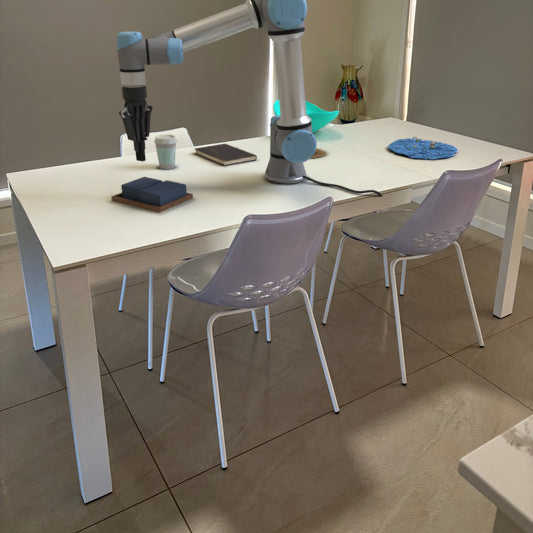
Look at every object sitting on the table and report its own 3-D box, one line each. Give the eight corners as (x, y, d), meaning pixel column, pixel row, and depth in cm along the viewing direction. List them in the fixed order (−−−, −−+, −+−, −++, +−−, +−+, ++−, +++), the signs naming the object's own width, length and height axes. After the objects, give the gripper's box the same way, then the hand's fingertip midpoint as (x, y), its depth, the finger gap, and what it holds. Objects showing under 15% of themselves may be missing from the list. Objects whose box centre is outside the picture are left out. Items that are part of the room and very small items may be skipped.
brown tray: (193, 199, 196) (192, 193, 195) (159, 214, 183) (159, 208, 182) (146, 188, 206) (146, 183, 205) (112, 202, 193) (111, 196, 192)
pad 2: (187, 198, 195) (186, 184, 193) (160, 210, 185) (159, 195, 183) (167, 194, 199) (166, 180, 197) (140, 205, 189) (139, 190, 187)
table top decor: (352, 138, 277) (354, 109, 271) (302, 144, 265) (303, 114, 259) (306, 122, 308) (307, 96, 303) (260, 127, 296) (260, 100, 290)
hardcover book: (223, 166, 232) (223, 160, 231) (194, 153, 249) (194, 148, 248) (256, 160, 241) (256, 154, 240) (226, 148, 257) (226, 143, 256)
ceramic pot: (294, 146, 262) (295, 130, 259) (332, 151, 255) (333, 134, 252) (278, 155, 248) (278, 138, 244) (317, 160, 241) (318, 143, 238)
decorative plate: (471, 160, 248) (474, 148, 245) (406, 163, 241) (408, 151, 238) (437, 141, 273) (439, 130, 270) (377, 143, 266) (379, 132, 264)
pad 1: (163, 194, 199) (162, 180, 197) (140, 203, 190) (139, 189, 188) (145, 190, 202) (144, 176, 200) (122, 199, 194) (121, 184, 192)
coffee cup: (174, 171, 226) (172, 139, 221) (152, 169, 227) (150, 138, 222) (181, 165, 233) (179, 134, 228) (160, 163, 235) (158, 133, 230)
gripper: (139, 81, 188) (146, 154, 198) (109, 87, 178) (118, 163, 188) (157, 83, 185) (163, 157, 195) (127, 89, 175) (135, 166, 185)
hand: (141, 160), depth 192 cm, fingers closed
